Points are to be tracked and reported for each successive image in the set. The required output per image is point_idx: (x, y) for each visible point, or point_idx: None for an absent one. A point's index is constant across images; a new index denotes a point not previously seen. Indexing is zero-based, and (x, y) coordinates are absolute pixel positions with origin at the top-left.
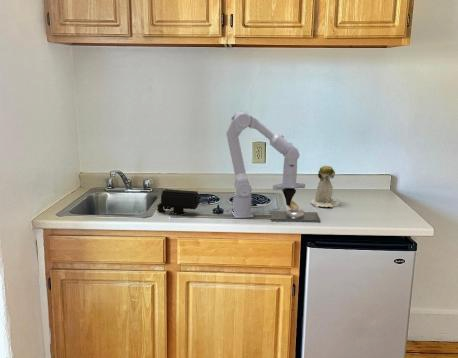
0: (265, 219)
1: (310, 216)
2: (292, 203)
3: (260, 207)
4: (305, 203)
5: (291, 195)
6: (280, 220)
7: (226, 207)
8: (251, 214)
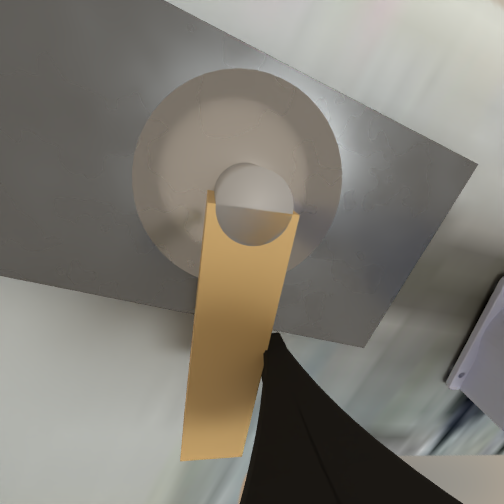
0: (462, 220)
1: (62, 126)
2: (236, 349)
3: None
4: (16, 499)
5: (306, 471)
6: (407, 134)
7: (485, 437)
8: (492, 314)
